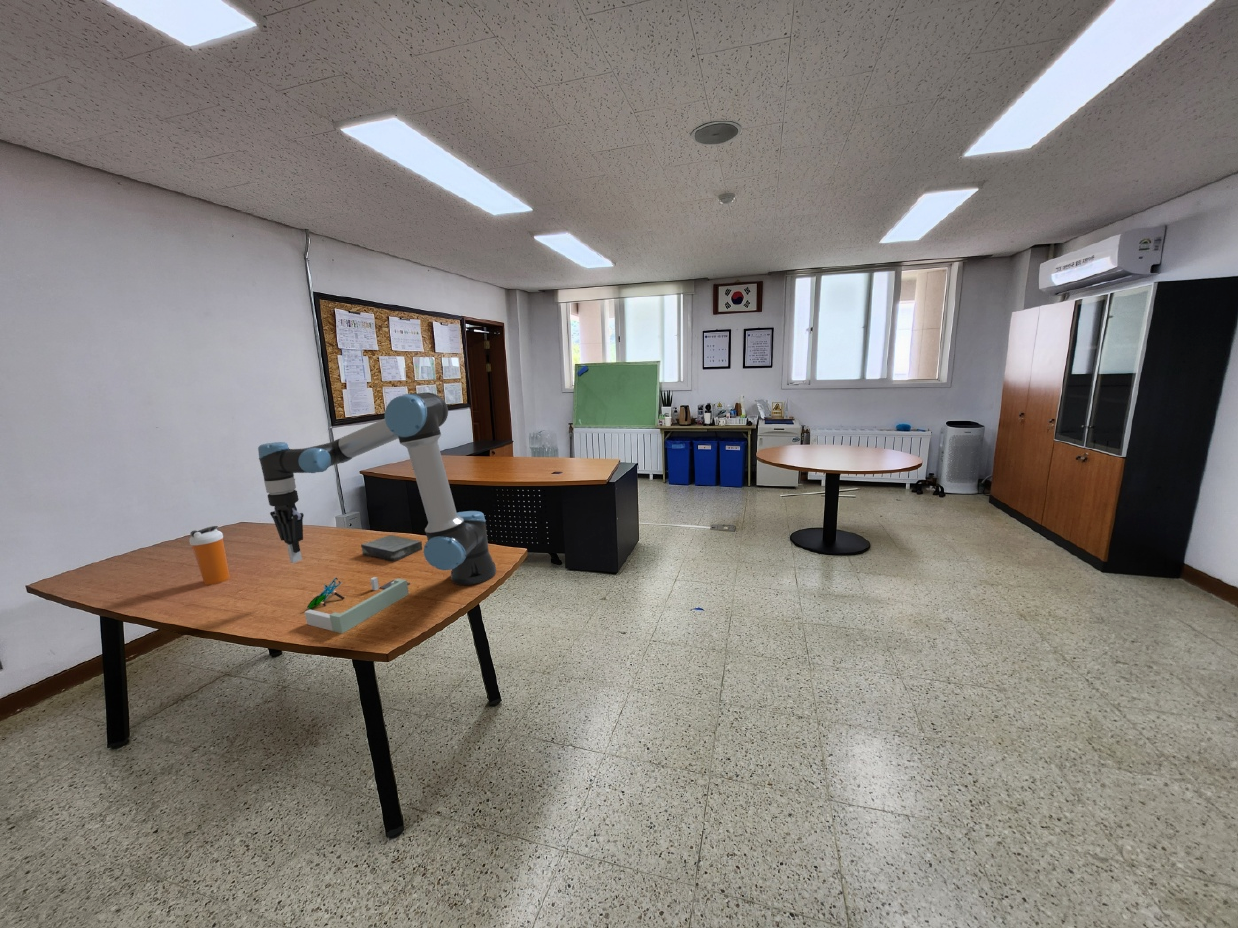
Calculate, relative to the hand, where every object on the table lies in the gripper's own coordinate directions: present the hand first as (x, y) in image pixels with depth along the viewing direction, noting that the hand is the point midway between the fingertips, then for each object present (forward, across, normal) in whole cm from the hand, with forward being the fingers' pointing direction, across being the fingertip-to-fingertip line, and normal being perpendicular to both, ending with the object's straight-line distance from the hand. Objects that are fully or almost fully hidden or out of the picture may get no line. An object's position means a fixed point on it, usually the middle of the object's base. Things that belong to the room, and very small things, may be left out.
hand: (296, 560), depth 143 cm
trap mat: (+12, -25, -15) cm, 31 cm away
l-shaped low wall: (+12, -25, 0) cm, 28 cm away
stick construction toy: (+13, -13, 0) cm, 18 cm away
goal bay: (+12, -32, 0) cm, 35 cm away
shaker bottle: (+13, +46, +2) cm, 48 cm away
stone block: (+13, +2, -37) cm, 39 cm away
